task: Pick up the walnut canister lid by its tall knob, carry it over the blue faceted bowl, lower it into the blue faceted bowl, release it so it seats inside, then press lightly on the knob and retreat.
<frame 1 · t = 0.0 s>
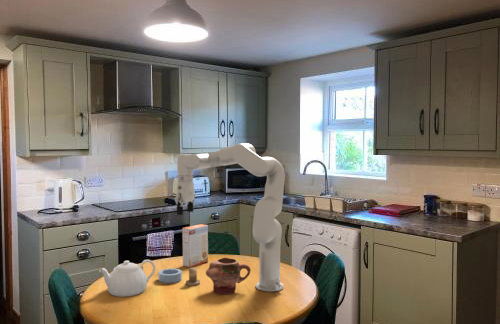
hand: (185, 213, 211), 31 cm above the table, tool pointing down, fingers open, 9 cm apart
sculpted mug: (228, 291, 190), on the table
blue faceted bowl: (170, 279, 204), on the table
teapot: (128, 291, 189), on the table
lid: (192, 283, 199), on the table
cracker box: (195, 264, 231), on the table
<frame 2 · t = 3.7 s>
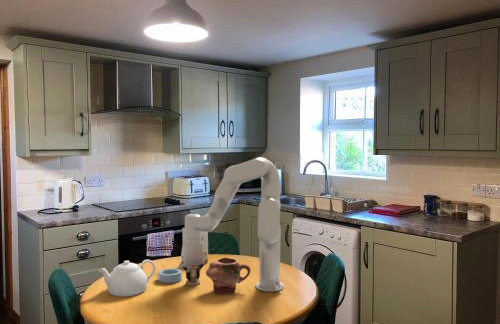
hand: (192, 278, 199), 2 cm above the table, tool pointing down, fingers closed on lid, 3 cm apart
lid: (192, 283, 199), on the table, touching gripper
everything else where it was.
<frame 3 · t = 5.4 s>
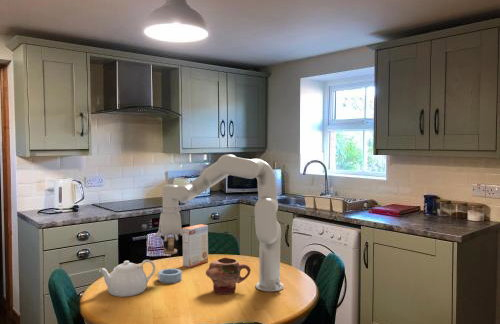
hand: (170, 248, 203), 16 cm above the table, tool pointing down, fingers closed on lid, 3 cm apart
lid: (170, 252, 204), point 13 cm above the table, touching gripper
everything else where it was.
when the fingers open (5 cm above the table, at t = 7.4 s): lid drops 2 cm, resting on blue faceted bowl.
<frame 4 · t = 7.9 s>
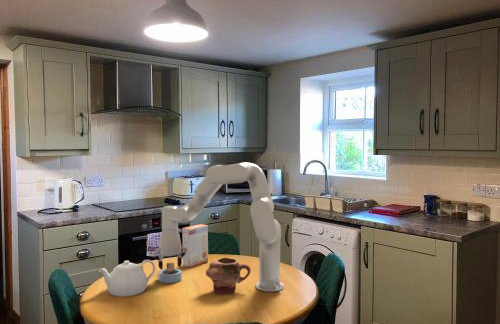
hand: (170, 267, 204), 6 cm above the table, tool pointing down, fingers open, 8 cm apart
lid: (170, 278, 204), point 1 cm above the table, touching blue faceted bowl
everything else where it was.
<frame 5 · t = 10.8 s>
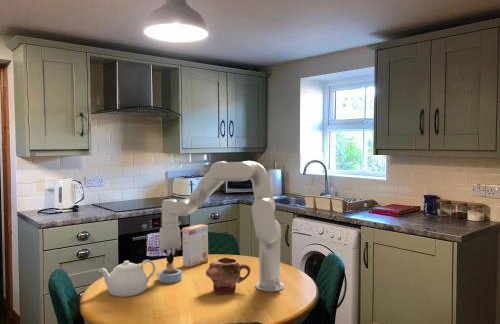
hand: (170, 262, 204), 8 cm above the table, tool pointing down, fingers closed
nothing on the table moved.
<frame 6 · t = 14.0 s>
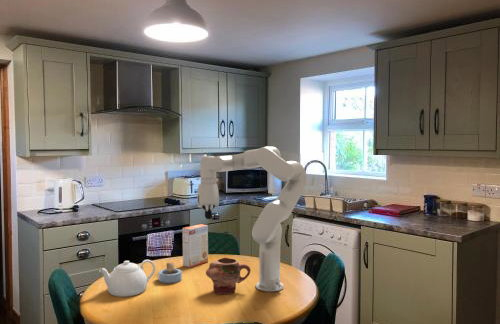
hand: (208, 218, 208), 29 cm above the table, tool pointing down, fingers closed
nothing on the table moved.
at the end: lid 0.1 cm off-centre on the blue faceted bowl, point 0.8 cm above the blue faceted bowl's base; lid tilted 0°; the gripper is holding nothing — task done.
